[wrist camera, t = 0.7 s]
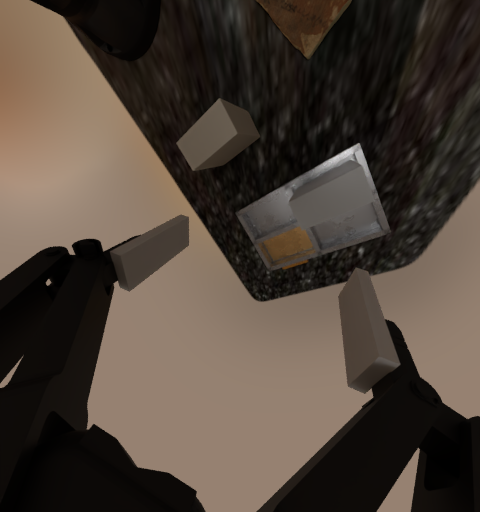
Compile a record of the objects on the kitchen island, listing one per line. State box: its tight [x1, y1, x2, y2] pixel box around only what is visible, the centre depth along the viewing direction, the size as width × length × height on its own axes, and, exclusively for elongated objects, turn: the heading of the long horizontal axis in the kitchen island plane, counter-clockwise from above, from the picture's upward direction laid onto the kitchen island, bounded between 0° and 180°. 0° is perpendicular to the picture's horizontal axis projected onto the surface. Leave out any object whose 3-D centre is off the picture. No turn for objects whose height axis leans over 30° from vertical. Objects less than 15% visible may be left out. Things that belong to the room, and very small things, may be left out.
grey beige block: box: [176, 98, 260, 171], centre depth 28 cm, size 4×8×10 cm, turn 122°
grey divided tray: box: [236, 143, 391, 271], centre depth 33 cm, size 14×20×3 cm
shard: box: [256, 0, 352, 60], centre depth 22 cm, size 11×8×2 cm
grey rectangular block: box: [288, 159, 375, 230], centre depth 26 cm, size 4×8×10 cm, turn 123°
